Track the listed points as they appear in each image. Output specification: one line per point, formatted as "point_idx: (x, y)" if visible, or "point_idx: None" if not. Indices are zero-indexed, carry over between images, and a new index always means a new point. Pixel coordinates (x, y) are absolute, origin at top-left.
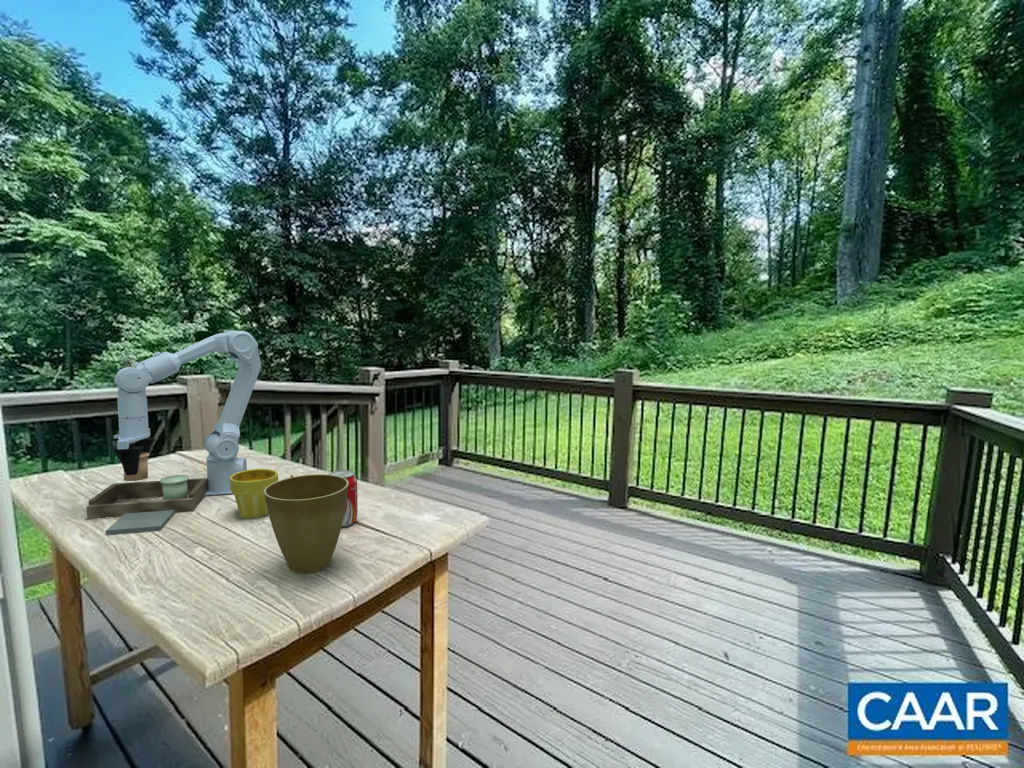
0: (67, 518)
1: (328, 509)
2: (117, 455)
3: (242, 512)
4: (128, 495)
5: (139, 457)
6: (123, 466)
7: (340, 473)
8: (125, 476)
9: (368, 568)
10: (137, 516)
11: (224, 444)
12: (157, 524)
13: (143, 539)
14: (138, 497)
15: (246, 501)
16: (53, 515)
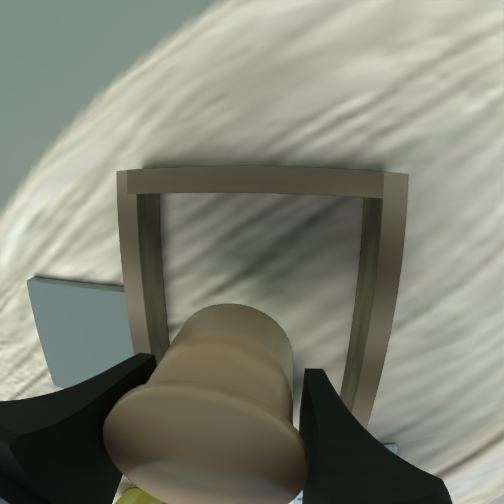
0: (169, 97)
1: None
2: (17, 403)
3: (122, 495)
4: (365, 236)
5: (117, 480)
6: (101, 376)
7: None
8: (179, 333)
9: None
10: (104, 333)
11: None
12: (60, 380)
13: (25, 353)
14: (360, 270)
15: None
16: (216, 36)
